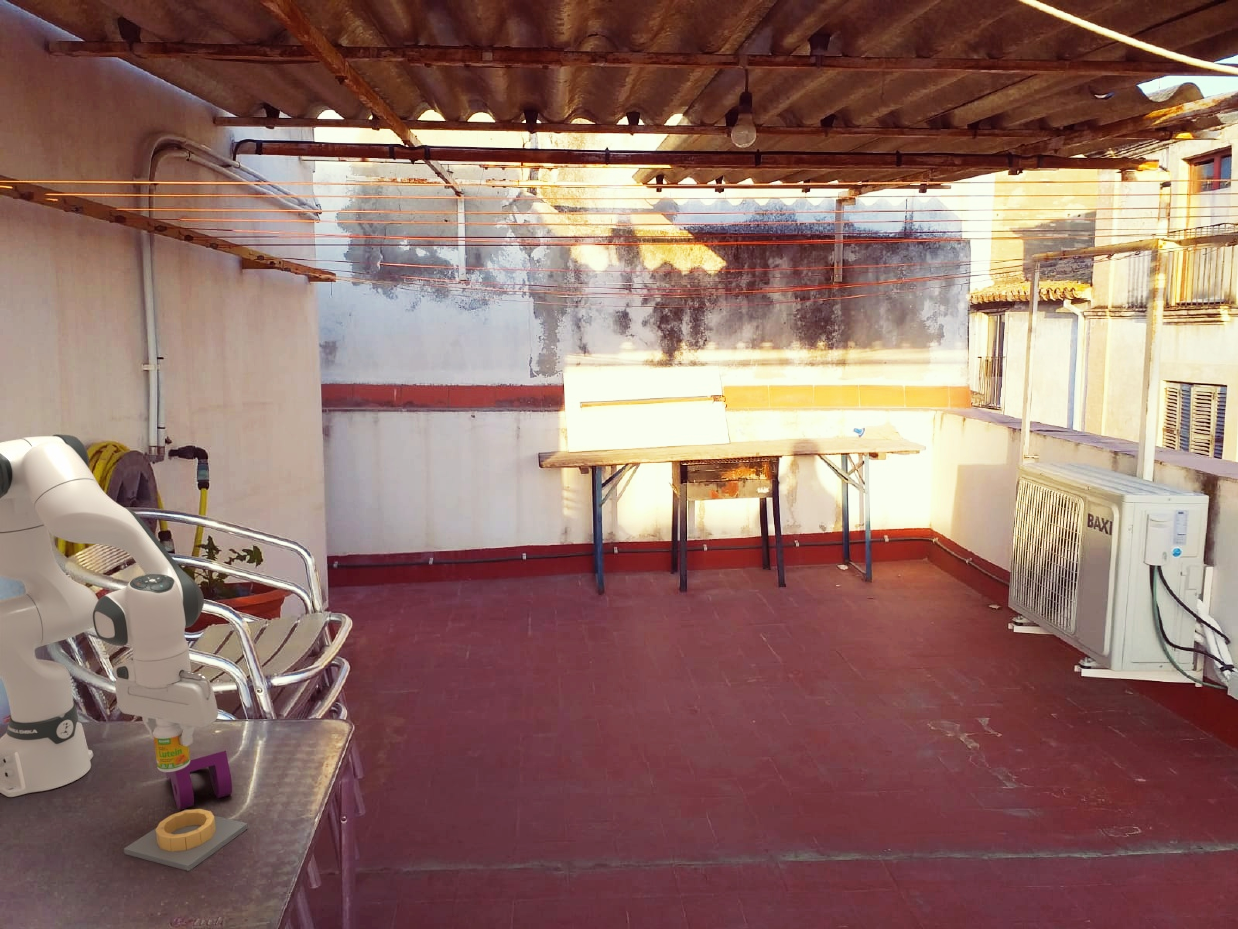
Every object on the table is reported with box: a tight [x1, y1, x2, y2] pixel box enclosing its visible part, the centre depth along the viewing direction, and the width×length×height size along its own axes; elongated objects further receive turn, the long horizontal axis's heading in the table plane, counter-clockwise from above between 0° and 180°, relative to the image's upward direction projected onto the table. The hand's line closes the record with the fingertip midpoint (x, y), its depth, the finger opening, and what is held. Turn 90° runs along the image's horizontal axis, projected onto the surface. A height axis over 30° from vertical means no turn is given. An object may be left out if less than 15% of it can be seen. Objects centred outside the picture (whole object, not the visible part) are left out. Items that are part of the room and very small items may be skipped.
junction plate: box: [123, 808, 249, 872], centre depth 173 cm, size 15×14×4 cm
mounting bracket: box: [165, 750, 233, 811], centre depth 192 cm, size 9×8×18 cm
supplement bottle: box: [153, 718, 191, 773], centre depth 170 cm, size 5×5×10 cm
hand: (171, 741), depth 170 cm, fingers closed on supplement bottle, 5 cm apart
